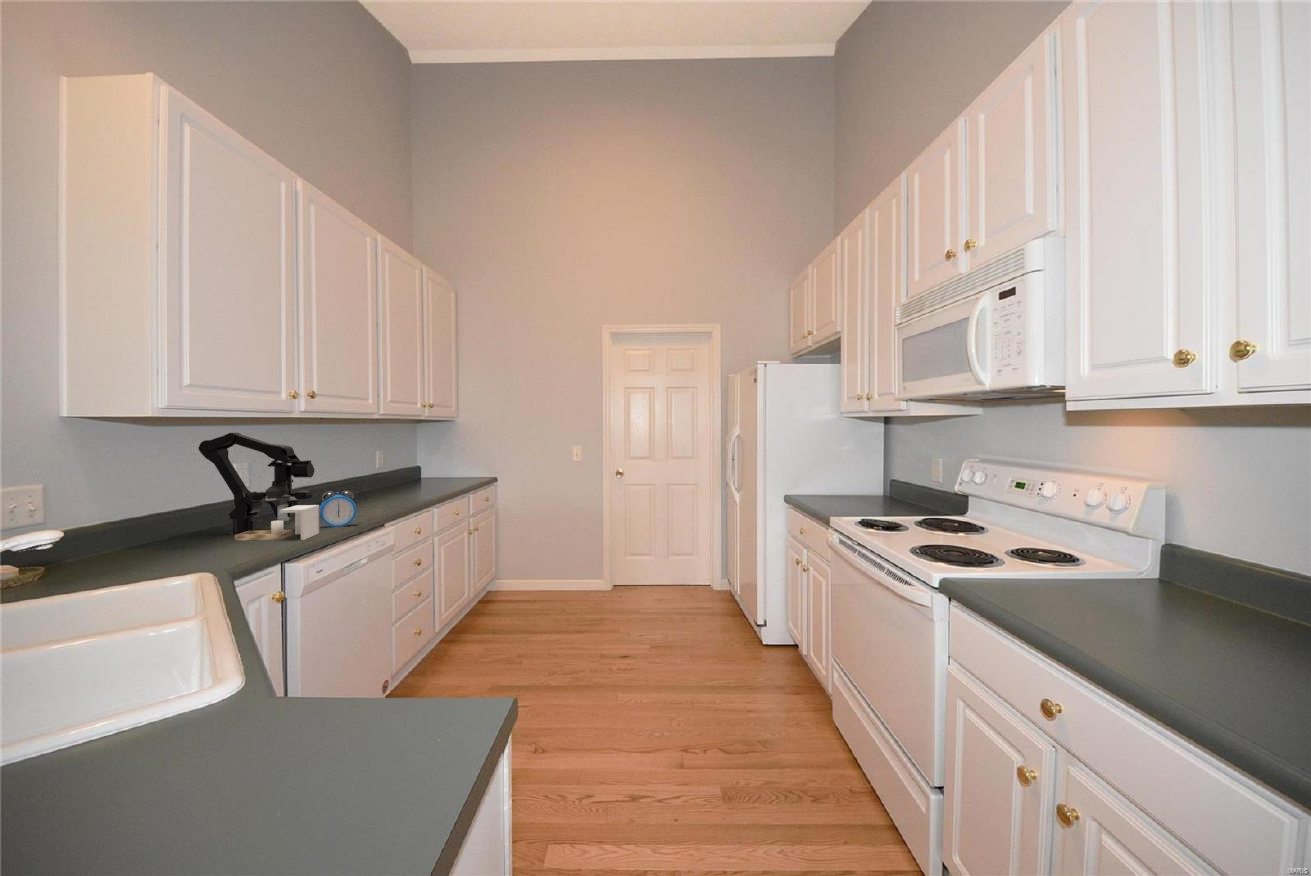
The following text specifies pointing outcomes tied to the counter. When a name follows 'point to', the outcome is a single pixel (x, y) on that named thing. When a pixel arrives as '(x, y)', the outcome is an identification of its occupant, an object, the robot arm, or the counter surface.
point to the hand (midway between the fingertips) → (283, 517)
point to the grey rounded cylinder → (282, 515)
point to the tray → (262, 535)
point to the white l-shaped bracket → (305, 519)
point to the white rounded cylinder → (277, 527)
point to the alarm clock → (337, 509)
